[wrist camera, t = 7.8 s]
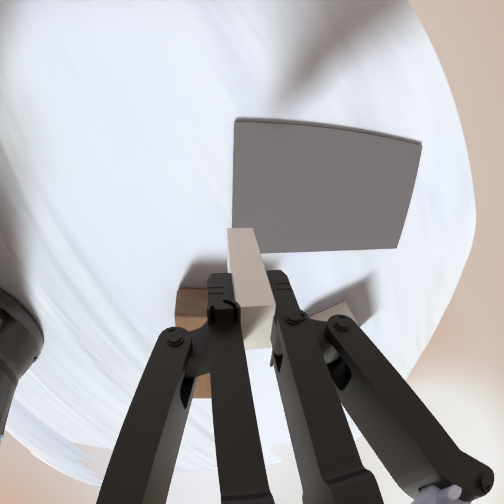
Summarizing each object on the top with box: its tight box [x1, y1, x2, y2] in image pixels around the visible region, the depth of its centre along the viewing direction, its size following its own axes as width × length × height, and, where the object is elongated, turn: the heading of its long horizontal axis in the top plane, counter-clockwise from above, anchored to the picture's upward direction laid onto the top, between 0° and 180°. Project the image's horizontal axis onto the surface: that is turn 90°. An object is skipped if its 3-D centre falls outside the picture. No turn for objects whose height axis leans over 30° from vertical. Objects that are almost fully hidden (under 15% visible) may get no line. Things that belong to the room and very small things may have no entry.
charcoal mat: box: [232, 122, 422, 253], centre depth 26 cm, size 20×13×1 cm, turn 88°
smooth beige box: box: [309, 301, 359, 326], centre depth 35 cm, size 8×8×5 cm
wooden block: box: [174, 288, 211, 398], centre depth 33 cm, size 9×4×18 cm
